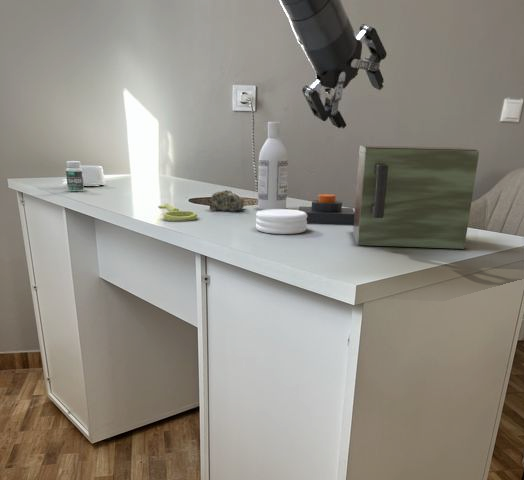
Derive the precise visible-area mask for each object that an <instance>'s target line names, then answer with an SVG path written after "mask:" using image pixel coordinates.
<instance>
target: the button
mask: <svg viewBox="0 0 524 480" xmlns="http://www.w3.org/2000/svg"><path fill="white" fill-rule="evenodd" d="M318 200H319V202H321V203H335V201H336V194H329V193H325V194H324V193H323V194H321V193H320V194H319V195H318Z"/></svg>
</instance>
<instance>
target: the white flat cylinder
mask: <svg viewBox="0 0 524 480" xmlns="http://www.w3.org/2000/svg"><path fill="white" fill-rule="evenodd" d="M255 216H256V219H255V222H256V225H255V228H256V230H257V231H259V232H261V233H266V234H274V235H295V234H301V233H304V232H306V230H307V229H308V227H307V224H308V223H307V220H306V218H307V214H306V213H305V212H303V211H299V209H288V208H287V209H267V210H258V211H257V212H256V214H255Z"/></svg>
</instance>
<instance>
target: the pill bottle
mask: <svg viewBox="0 0 524 480" xmlns="http://www.w3.org/2000/svg"><path fill="white" fill-rule="evenodd" d="M81 166H82V164H81V161H77V160H67V161H66V169H65V176H66V186H67V191H68V192H71V191H81V192H84V191H85V187H84V183H83V171H82V169H81V168H80V167H81Z"/></svg>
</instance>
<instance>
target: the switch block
mask: <svg viewBox="0 0 524 480" xmlns="http://www.w3.org/2000/svg"><path fill="white" fill-rule="evenodd" d="M298 211H303V212H305V213H306V214H307V218H306V220H307V224H322V225H349V226H350V225H351V226H353V225H354V213H355V209H354V208H353V207H343V201H340V200H335V203H321V202H319V199H315V200H311V206H302V205H301V206H299V207H298Z"/></svg>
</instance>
